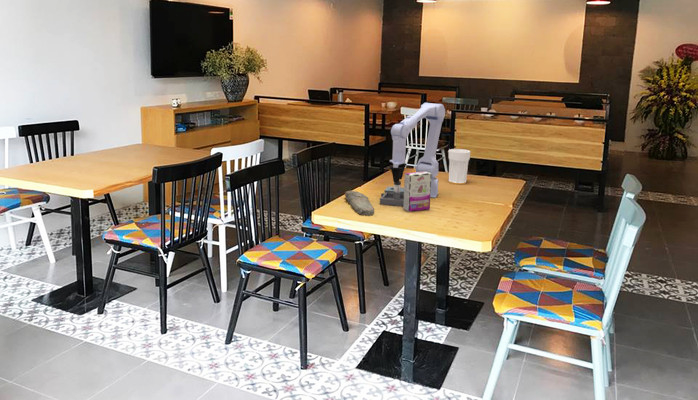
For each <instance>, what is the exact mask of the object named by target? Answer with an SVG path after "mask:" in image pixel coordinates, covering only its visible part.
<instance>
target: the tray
mask: <svg viewBox="0 0 698 400" xmlns="http://www.w3.org/2000/svg"><path fill="white" fill-rule="evenodd" d="M384 193H385V192H384ZM393 194H394V193H387V192H386V193H385V194H384V195H383V196H382V197H381V196H380V198H379V205H382V206H391V207H401V208H403V207H404V194H400V200H397V199H393Z"/></svg>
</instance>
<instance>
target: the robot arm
mask: <svg viewBox="0 0 698 400" xmlns="http://www.w3.org/2000/svg"><path fill="white" fill-rule="evenodd" d="M445 113H446V108H445V106H444V104H442V103H431V102H424V103H423V104H421V105H420V108H419V109H418V110H417V111H416V112H415V113H414V114H413V115H407V116H406V118H404V119H402V121H400V122H399V123H395V124H393V125H392V126H391V130H390V134H391V139H392V158H391V159H389V162H390V163H392V164H393V166H390V167H389V168H390V171H391V174H392V181H393V183H394V182H395V183H398V182H399V181H400V180H402V179H403V175H404V171H405V169H406V166H407V163H406V153H407V151H406V150H407V149H406V148H407V147H406V145H407V137H409V134H410V133H411V131H413V129H414V128H416V127H417V126H418V122H419V121H421V120H423V119H426V121H428V122H429V128H428V134H427V139H426V143H425V149H424V153H423V156H422V157H420V158H419V159H418V161H417V164H416V166H415V172H429V173H431V192H430V198H435V199H436V198H437V197H438V194H439V178H438V177H437V176H438V174H439V162H438V160H437V159H436V153H437V150H438V143H439V139H440V138H439V137H440V134H441V129H442V124H443V122H444V120H445V119H444V117H445ZM436 177H437V178H436Z"/></svg>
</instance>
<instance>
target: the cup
mask: <svg viewBox="0 0 698 400" xmlns="http://www.w3.org/2000/svg"><path fill="white" fill-rule="evenodd" d="M447 158H448V161H449V165H448V183H449V184H450V185H460V186H461V185H466V184H467V179H468V178H467V175H468V168H469V167H468V166H469V161H470V159H471V150H468V149H464V148H463V149H462V148H451V149H449V150H448V157H447Z"/></svg>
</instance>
